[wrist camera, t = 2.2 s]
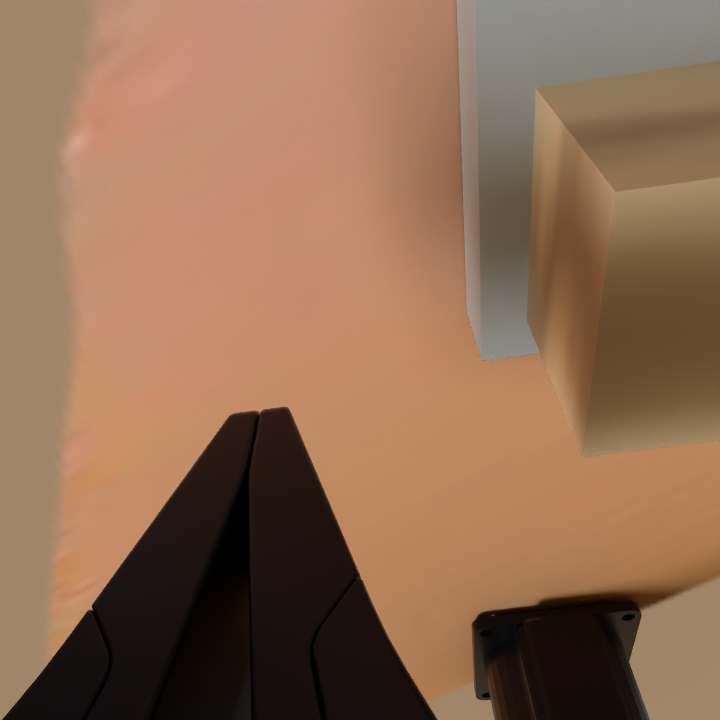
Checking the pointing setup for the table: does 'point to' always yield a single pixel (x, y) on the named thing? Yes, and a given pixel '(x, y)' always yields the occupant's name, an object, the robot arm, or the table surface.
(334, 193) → the table surface
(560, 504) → the table surface
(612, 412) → the maple block
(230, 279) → the table surface
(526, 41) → the tray
